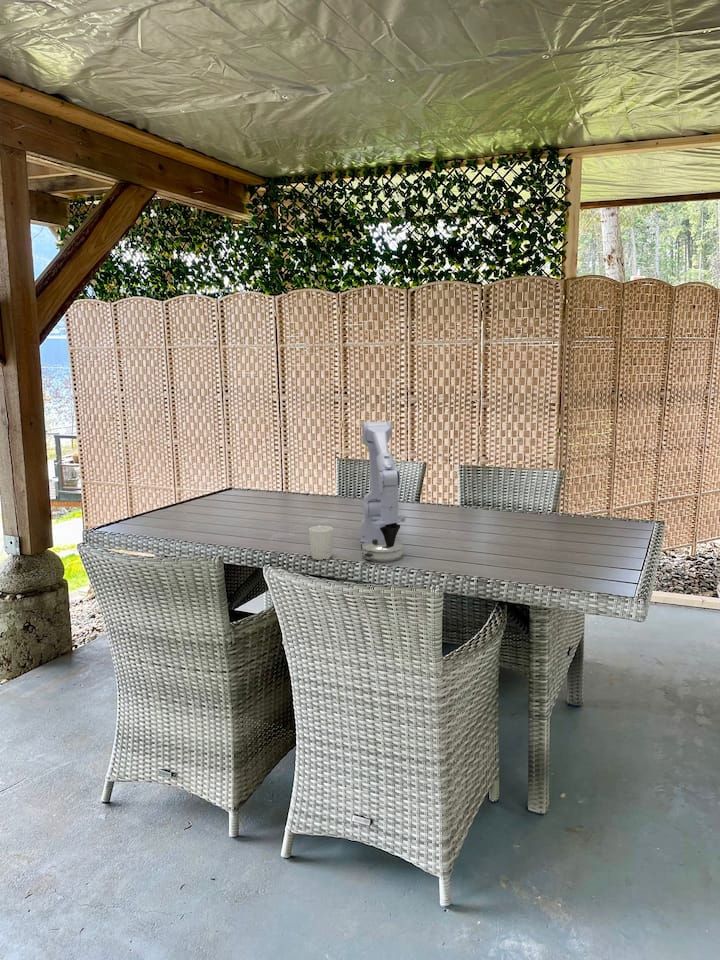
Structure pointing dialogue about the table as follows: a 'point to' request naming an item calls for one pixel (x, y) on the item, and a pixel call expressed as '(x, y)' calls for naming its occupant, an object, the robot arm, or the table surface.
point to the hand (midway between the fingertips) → (390, 546)
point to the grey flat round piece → (382, 556)
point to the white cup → (321, 542)
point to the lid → (381, 546)
